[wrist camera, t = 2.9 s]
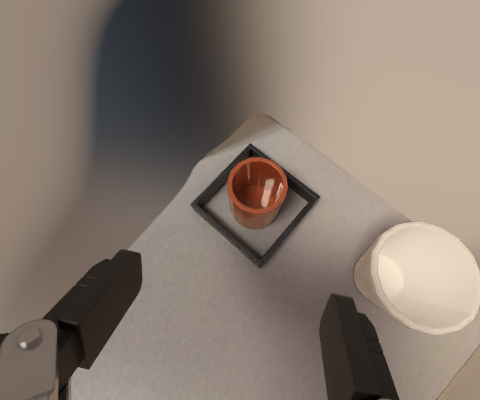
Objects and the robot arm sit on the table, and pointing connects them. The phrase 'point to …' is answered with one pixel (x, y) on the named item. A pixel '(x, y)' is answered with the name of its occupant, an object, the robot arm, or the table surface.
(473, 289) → the cup
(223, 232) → the dark grey square frame
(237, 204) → the terracotta cup
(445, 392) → the bracket
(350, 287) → the table surface
